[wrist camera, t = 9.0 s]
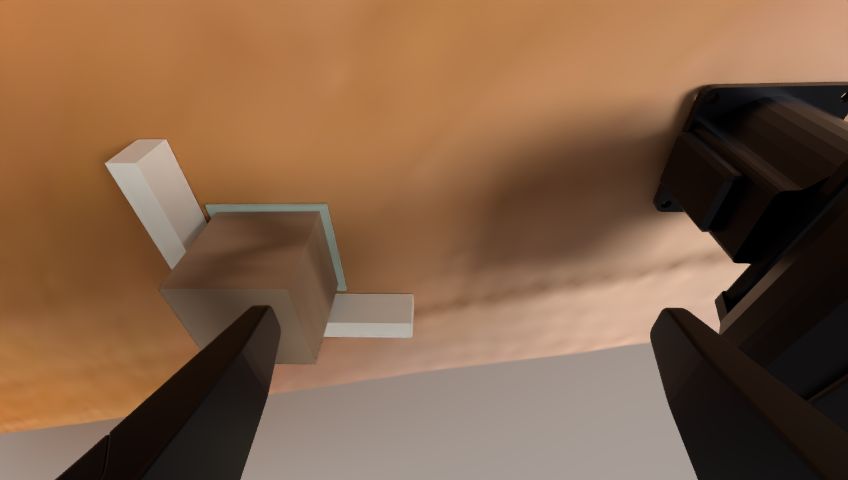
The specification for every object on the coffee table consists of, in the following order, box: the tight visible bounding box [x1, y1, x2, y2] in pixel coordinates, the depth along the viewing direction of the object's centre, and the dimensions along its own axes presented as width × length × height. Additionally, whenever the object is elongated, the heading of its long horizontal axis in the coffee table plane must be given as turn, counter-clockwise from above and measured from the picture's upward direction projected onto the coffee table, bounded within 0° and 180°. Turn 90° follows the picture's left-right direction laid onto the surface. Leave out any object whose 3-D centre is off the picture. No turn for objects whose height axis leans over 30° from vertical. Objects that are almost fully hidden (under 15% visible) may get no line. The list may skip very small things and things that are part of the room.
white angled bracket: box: [105, 139, 414, 338], centre depth 23 cm, size 14×14×2 cm
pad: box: [205, 203, 347, 291], centre depth 24 cm, size 7×7×1 cm
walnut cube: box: [158, 211, 338, 364], centre depth 22 cm, size 6×6×6 cm
